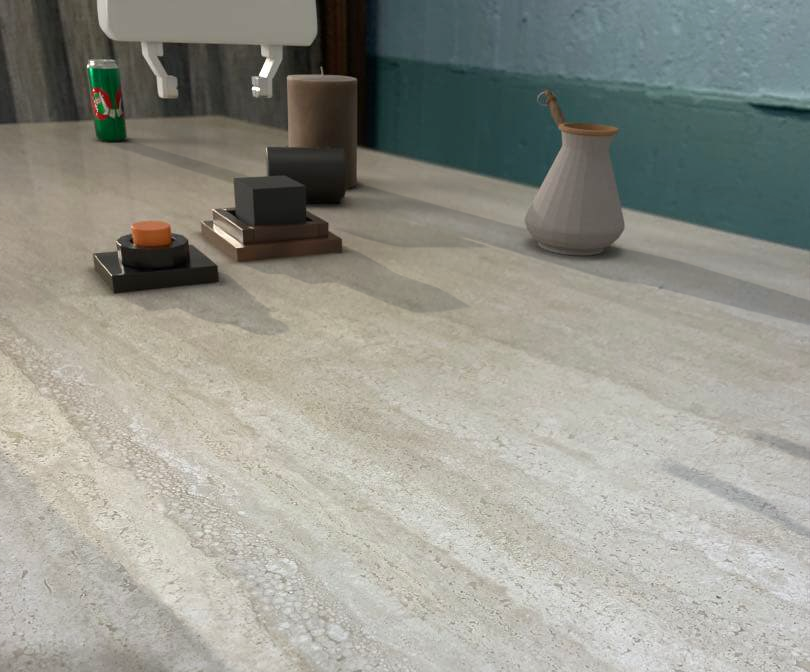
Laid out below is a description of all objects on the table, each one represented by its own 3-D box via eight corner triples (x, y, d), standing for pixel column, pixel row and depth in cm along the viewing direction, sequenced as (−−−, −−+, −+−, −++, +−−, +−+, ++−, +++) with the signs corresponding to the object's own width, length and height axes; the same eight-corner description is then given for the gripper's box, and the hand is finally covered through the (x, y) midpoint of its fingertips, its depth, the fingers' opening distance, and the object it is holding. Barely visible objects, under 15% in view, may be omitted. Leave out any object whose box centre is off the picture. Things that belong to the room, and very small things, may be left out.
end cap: (269, 207, 111) (266, 151, 107) (266, 195, 117) (264, 141, 113) (346, 208, 113) (346, 152, 109) (340, 196, 119) (340, 142, 115)
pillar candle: (349, 193, 121) (350, 71, 112) (281, 188, 122) (277, 67, 113) (362, 180, 129) (364, 65, 120) (298, 175, 130) (296, 61, 121)
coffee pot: (636, 260, 98) (663, 113, 90) (538, 260, 96) (558, 110, 88) (572, 215, 115) (590, 89, 107) (489, 215, 113) (501, 86, 105)
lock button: (138, 250, 81) (136, 231, 80) (129, 241, 84) (126, 222, 83) (176, 247, 82) (175, 228, 82) (166, 238, 85) (164, 219, 84)
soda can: (119, 137, 151) (110, 58, 144) (132, 141, 148) (123, 61, 141) (91, 138, 148) (80, 58, 141) (104, 143, 145) (93, 61, 138)
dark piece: (114, 294, 80) (108, 255, 78) (95, 270, 85) (89, 234, 84) (219, 283, 84) (216, 246, 82) (194, 261, 90) (191, 226, 88)
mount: (237, 262, 90) (235, 233, 88) (201, 234, 99) (199, 207, 97) (342, 252, 95) (342, 224, 93) (299, 226, 104) (298, 200, 102)
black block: (255, 238, 93) (252, 189, 90) (236, 225, 97) (233, 178, 94) (306, 234, 95) (306, 185, 92) (286, 221, 99) (284, 175, 97)
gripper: (300, -67, 83) (302, 93, 91) (81, -87, 74) (102, 93, 82) (328, -68, 79) (327, 101, 86) (98, -89, 70) (119, 102, 77)
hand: (216, 97), depth 84 cm, fingers open, 8 cm apart
